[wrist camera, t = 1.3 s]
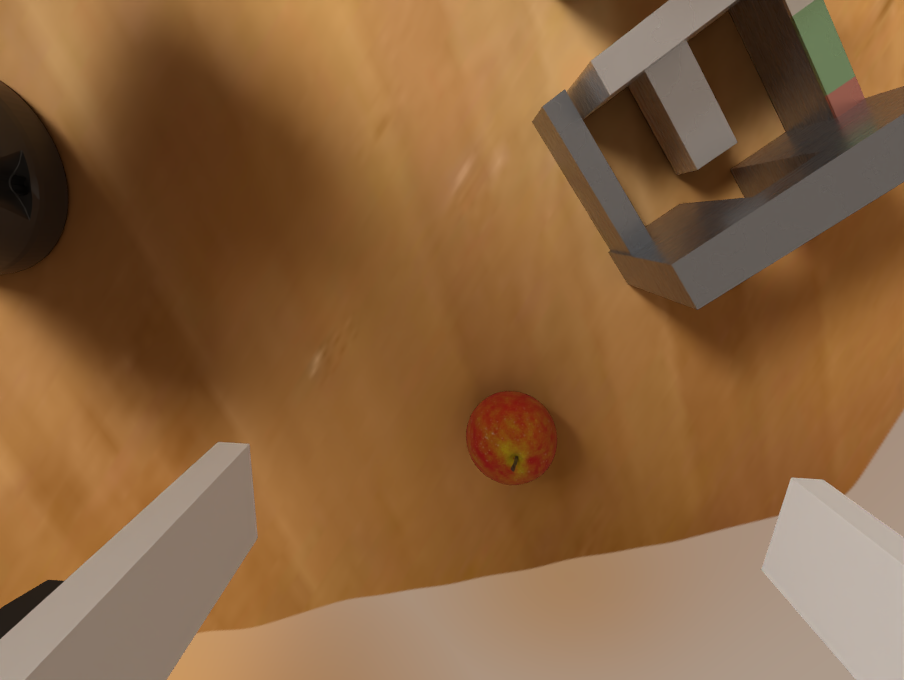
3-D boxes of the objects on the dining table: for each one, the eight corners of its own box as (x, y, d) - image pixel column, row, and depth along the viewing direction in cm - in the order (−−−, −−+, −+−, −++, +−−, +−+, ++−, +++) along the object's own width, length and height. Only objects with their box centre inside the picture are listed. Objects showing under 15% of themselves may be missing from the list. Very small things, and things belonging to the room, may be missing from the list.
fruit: (546, 375, 35) (569, 419, 27) (548, 449, 36) (570, 510, 29) (463, 381, 35) (462, 425, 27) (469, 454, 37) (470, 515, 29)
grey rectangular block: (561, 99, 29) (593, 58, 22) (751, -48, 26) (858, -149, 19) (625, 209, 31) (675, 205, 23) (809, 82, 28) (927, 34, 21)
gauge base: (529, 123, 29) (561, 75, 20) (740, -39, 27) (898, -188, 17) (627, 284, 32) (697, 309, 23) (828, 153, 29) (1005, 118, 20)
